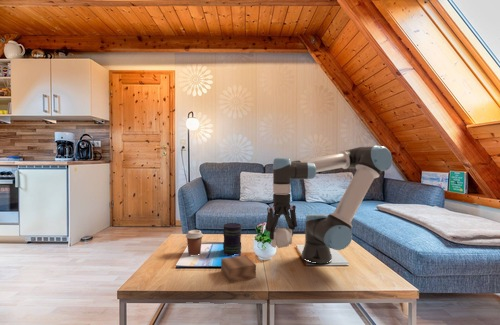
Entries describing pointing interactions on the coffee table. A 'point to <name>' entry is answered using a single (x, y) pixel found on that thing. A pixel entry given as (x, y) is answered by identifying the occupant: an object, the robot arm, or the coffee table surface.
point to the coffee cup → (194, 242)
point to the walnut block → (238, 268)
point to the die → (282, 237)
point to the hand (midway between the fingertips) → (281, 245)
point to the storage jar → (232, 238)
